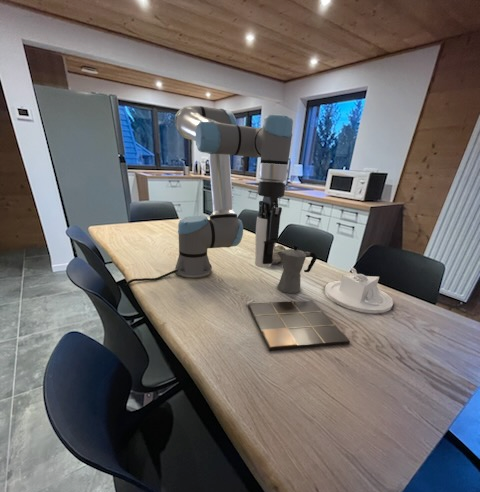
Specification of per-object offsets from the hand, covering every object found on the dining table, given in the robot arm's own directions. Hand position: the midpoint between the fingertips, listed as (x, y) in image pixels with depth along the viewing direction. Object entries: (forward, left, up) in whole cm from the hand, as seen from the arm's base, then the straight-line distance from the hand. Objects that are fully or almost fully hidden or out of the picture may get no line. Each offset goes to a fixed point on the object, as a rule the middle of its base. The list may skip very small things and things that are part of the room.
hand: (263, 259), depth 83 cm
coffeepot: (+18, +13, -17) cm, 28 cm away
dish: (+42, +4, -17) cm, 45 cm away
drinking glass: (0, 0, -2) cm, 2 cm away
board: (+9, -11, -17) cm, 22 cm away
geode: (+20, +45, -18) cm, 52 cm away
